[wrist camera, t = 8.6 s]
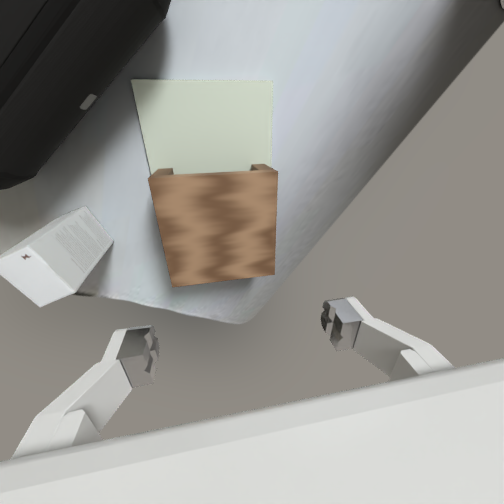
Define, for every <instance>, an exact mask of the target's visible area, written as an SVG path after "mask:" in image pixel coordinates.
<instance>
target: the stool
mask: <svg viewBox="0 0 504 504" xmlns="http://www.w3.org/2000/svg"><path fill="white" fill-rule="evenodd" d="M148 181H149V186H150V190H151V195H152V199H153V204H154V208H155V212H156V217H157V221H158V226H159V230H160V235H161V239H162V243H163V248H164V252H165V257H166V261H167V266H168V270H169V275H170V279H171V283H172V287H179V286H187V285H195V284H203V283H211V282H219V281H227V280H235V279H243V278H251V277H260V276H268V275H275V246H276V216H277V186H278V171H276V170H274V169H273V168H271V167H269V166H267V165H266V164H252V171H234V172H215V173H195V174H176V175H174V173H173V168H163V169H157V170H156V171H155V172H154V173H153V174H152V175H151V176H150V177H149V178H148Z"/></svg>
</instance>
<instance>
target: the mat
mask: <svg viewBox="0 0 504 504" xmlns="http://www.w3.org/2000/svg"><path fill="white" fill-rule="evenodd" d="M131 84H132V88H133V93H134V98H135V102H136V107H137V111H138V116H139V121H140V125H141V130H142V134H143V139H144V144H145V148H146V153H147V158H148V162H149V167H150V171H151V175H152V174H153V173H154V172H155V171H156V170H157V169H163V168H173V173H174V175H176V174H195V173H215V172H234V171H252V164H266V165H267V166H269V167H271V158H272V109H273V81H244V80H149V79H131Z"/></svg>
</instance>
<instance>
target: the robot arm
mask: <svg viewBox="0 0 504 504" xmlns="http://www.w3.org/2000/svg"><path fill="white" fill-rule="evenodd" d="M500 1H501V6H502V8H503V9H504V0H500ZM323 308H324V312H323V313H322V315H321V324H322V327H323V329H324V331H325V333H327V334H329V335H330V341H331V343H332V345H333V346H334V348H335V350H336V351H341V350H348V349H353V350H354V351H356V352H357V353H358V354H360V355H361V356H362V357H364V358H365V359H366V360H368V361H369V362H370V363H372V364H373V365H375V366H376V367H377V368H378V369H380V370H381V371H383V372H384V373H385V374H387V375H388V376H389V377H390V378H389V380H388V382H385V383H380V384H376V385H371V386H366V387H361V388H356V389H351V390H346V391H341V392H337V393H332V394H327V395H322V396H317V397H313V398H308V399H302V400H298V401H293V402H288V403H283V404H278V405H274V406H268V407H264V408H259V409H254V410H249V411H244V412H240V413H234V414H229V415H225V416H220V417H215V418H210V419H206V420H200V421H195V422H191V423H186V424H181V425H176V426H171V427H166V428H162V429H156V430H151V431H147V432H142V433H137V434H132V435H127V436H122V437H117V438H112V439H107V440H103V439H102V437H101V436H100V434H99V432H100V431H101V430H102V428H103V427H104V426H105V424H106V423H107V422H108V420H109V419H110V418H111V416H112V415H113V414H114V413H115V411H116V410H117V409H118V407H119V406H120V404H121V403H122V402H123V401H124V399H125V398H126V397H127V395H128V394H129V393H130V391H131V390H132V388H133V387H139V386H143V385H148V384H153V383H154V378H155V373H156V367H155V363H156V361H157V360H158V357H159V342H158V338H156V337H155V336H154V335H155V329H154V326H152V325H150V326H142V327H134V328H127V329H118V330H116V331H115V332H114V333H113V335H112V337H111V340H110V342H109V344H108V347H107V349H106V351H105V353H104V356H103V358H102V360H101V362H99V363H96V364H95V365H94V366H93V367H92V368H90V369H89V370H88V371H87V372H86V373H85V374H84V375H83V376H81V377H80V378H79V379H78V380H77V381H76V382H74V383H73V384H72V385H71V386H70V387H69V388H68V389H67V390H65V391H64V392H63V393H62V394H61V395H60V396H58V397H57V398H56V399H55V400H54V401H53V402H52V403H51V404H49V405H48V406H47V407H46V408H45V409H44V410H43V411H41V412H40V413H39V414H38V415H37V416H36V417H35V418H34V420H33V422H32V424H31V426H30V427H29V429H28V431H27V432H26V434H25V435H24V437H23V439H22V441H21V442H20V444H19V446H18V448H17V449H16V451H15V453H14V454H13V456H12V458H11V459H10V460H5V461H0V504H504V358H502V359H497V360H492V361H487V362H483V363H478V364H473V365H468V366H463V367H458V368H455V367H454V366H453V365H452V364H451V363H450V362H448V361H447V360H446V359H445V358H444V357H443V356H442V355H441V354H440V353H439V352H438V351H437V350H436V349H435V348H434V347H433V346H432V345H431V344H429V343H427V342H425V341H422V340H421V339H419V338H416V337H414V336H412V335H410V334H408V333H406V332H404V331H402V330H400V329H398V328H396V327H394V326H392V325H390V324H388V323H385V322H383V321H381V320H379V319H374V318H373V317H372V316H371V315H370V313H369V312H368V311H367V310H366V309H365V308H364V307H363V306H362V304H361V303H360V302H359V301H358V300H357V299H356V298H355V297H346V298H340V299H333V300H327V301H325V302H324V303H323Z"/></svg>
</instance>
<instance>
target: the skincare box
mask: <svg viewBox="0 0 504 504" xmlns="http://www.w3.org/2000/svg"><path fill="white" fill-rule="evenodd" d="M113 242H114V241H113V240H112V238H111V237H110V236H109V235H108V233H107V232H106V231H105V230H104V228H103V227H102V226H101V225H100V223H99V222H98V221H97V220H96V218H95V217H94V216H93V215H92V213H91V212H90V211H89V209H88V208H87V207H86V206H83V207H81V208H79V209H76V210H74V211H71V212H69V213H67V214H65V215H63V216H60V217H58V218H56V219H55V220H53V221H52V222H50V223H49V224H47V225H45V226H44V227H42V228H41V229H39V230H38V231H36V232H35V233H33V234H32V235H30V236H29V237H27V238H26V239H24V240H23V241H21V242H20V243H18V244H17V245H15V246H14V247H12V248H11V249H9V250H7V251H6V252H4V253H3V254H2V255H0V275H1V276H2V277H3V278H5V279H6V280H7V281H8V282H10V283H11V284H12V285H13V286H14V287H16V288H17V289H18V290H19V291H21V292H22V293H23V294H24V295H25V296H27V297H28V298H29V299H30V300H32V301H33V302H34V303H35V304H36V305H38V306H39V307H42V306H45V305H47V304H49V303H52V302H54V301H57V300H59V299H62V298H64V297H66V296H69V295H72V294H74V293H76V292H77V290H78V289H79V288H80V286H81V285H82V283H83V282H84V281H85V279H86V278H87V277H88V275H89V274H90V273H91V271H92V270H93V269H94V267H95V266H96V265H97V263H98V262H99V261H100V259H101V258H102V257H103V255H104V254H105V253H106V251H107V250H108V249H109V247H110V246H111V245H112V243H113Z"/></svg>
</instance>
